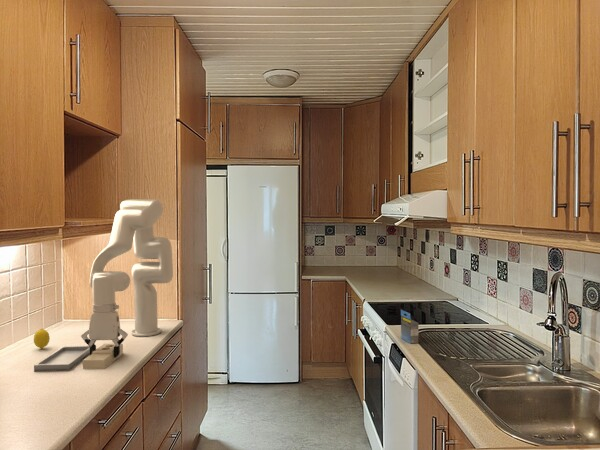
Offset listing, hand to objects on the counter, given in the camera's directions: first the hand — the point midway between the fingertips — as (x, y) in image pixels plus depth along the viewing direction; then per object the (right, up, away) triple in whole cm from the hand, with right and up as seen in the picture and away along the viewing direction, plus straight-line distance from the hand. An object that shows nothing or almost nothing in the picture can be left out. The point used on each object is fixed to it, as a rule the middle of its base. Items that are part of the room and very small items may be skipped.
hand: (104, 356), depth 182 cm
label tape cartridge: (+116, 0, +24) cm, 118 cm away
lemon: (-31, -1, +15) cm, 34 cm away
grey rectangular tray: (-14, -1, -1) cm, 14 cm away
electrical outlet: (0, -2, -1) cm, 2 cm away
